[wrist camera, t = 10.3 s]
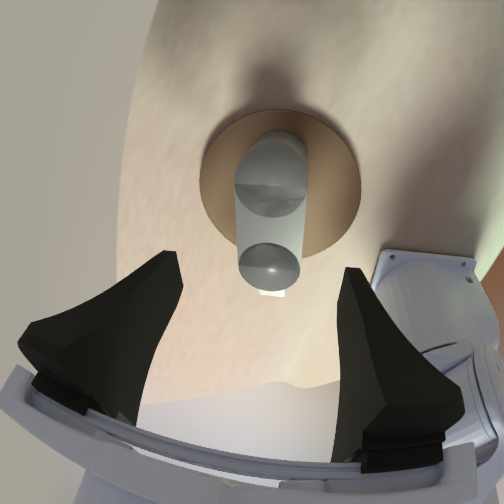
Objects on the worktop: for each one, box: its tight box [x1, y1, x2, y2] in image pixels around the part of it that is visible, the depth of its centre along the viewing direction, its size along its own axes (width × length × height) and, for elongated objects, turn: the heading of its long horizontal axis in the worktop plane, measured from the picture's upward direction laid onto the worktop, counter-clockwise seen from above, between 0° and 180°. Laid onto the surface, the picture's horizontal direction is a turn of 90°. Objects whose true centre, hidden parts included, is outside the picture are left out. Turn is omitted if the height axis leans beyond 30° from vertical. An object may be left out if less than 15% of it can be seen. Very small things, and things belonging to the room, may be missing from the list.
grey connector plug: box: [234, 129, 308, 297], centre depth 18 cm, size 11×4×5 cm, turn 1°
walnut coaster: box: [199, 110, 361, 258], centre depth 19 cm, size 11×11×1 cm
